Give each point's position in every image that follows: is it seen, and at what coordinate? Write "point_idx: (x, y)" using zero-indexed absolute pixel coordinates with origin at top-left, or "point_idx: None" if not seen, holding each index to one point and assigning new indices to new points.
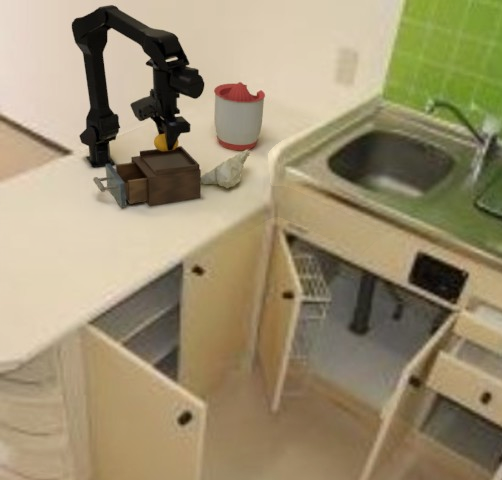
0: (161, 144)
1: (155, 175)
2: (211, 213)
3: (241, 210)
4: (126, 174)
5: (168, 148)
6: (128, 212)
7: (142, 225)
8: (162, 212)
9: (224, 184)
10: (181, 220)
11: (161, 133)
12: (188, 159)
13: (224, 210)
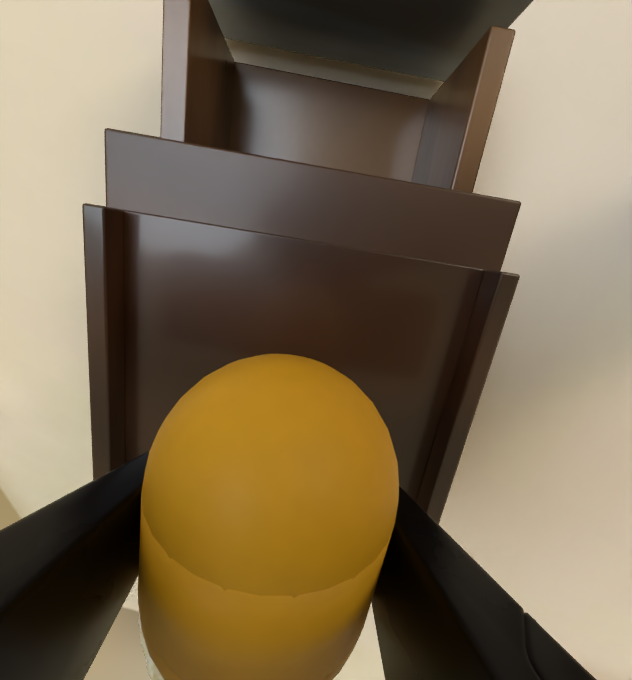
0: (165, 423)
1: (126, 205)
2: (50, 389)
3: (41, 493)
4: (434, 144)
5: (141, 461)
6: None
7: (26, 35)
8: None
9: None
10: (25, 246)
11: (413, 594)
12: None
13: (59, 443)
